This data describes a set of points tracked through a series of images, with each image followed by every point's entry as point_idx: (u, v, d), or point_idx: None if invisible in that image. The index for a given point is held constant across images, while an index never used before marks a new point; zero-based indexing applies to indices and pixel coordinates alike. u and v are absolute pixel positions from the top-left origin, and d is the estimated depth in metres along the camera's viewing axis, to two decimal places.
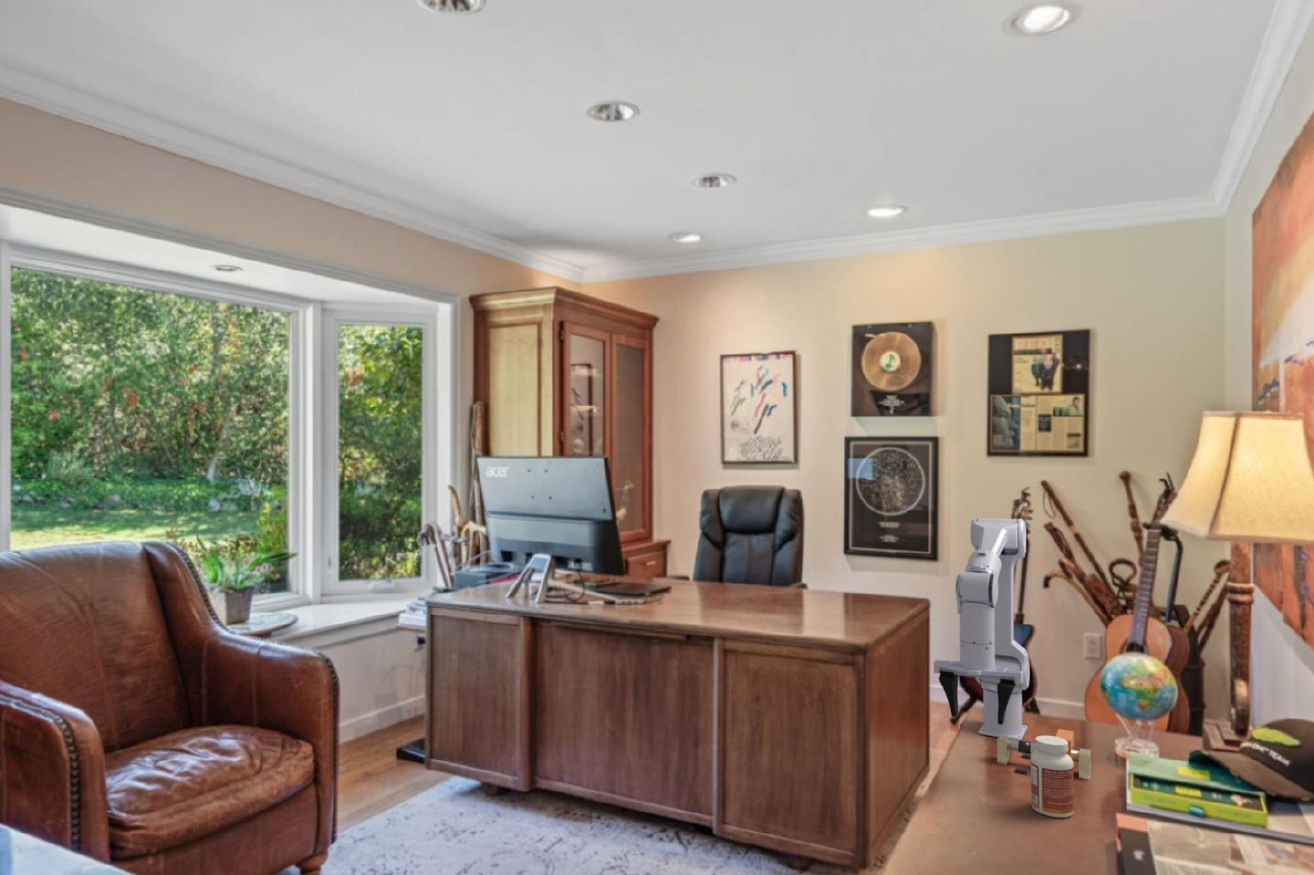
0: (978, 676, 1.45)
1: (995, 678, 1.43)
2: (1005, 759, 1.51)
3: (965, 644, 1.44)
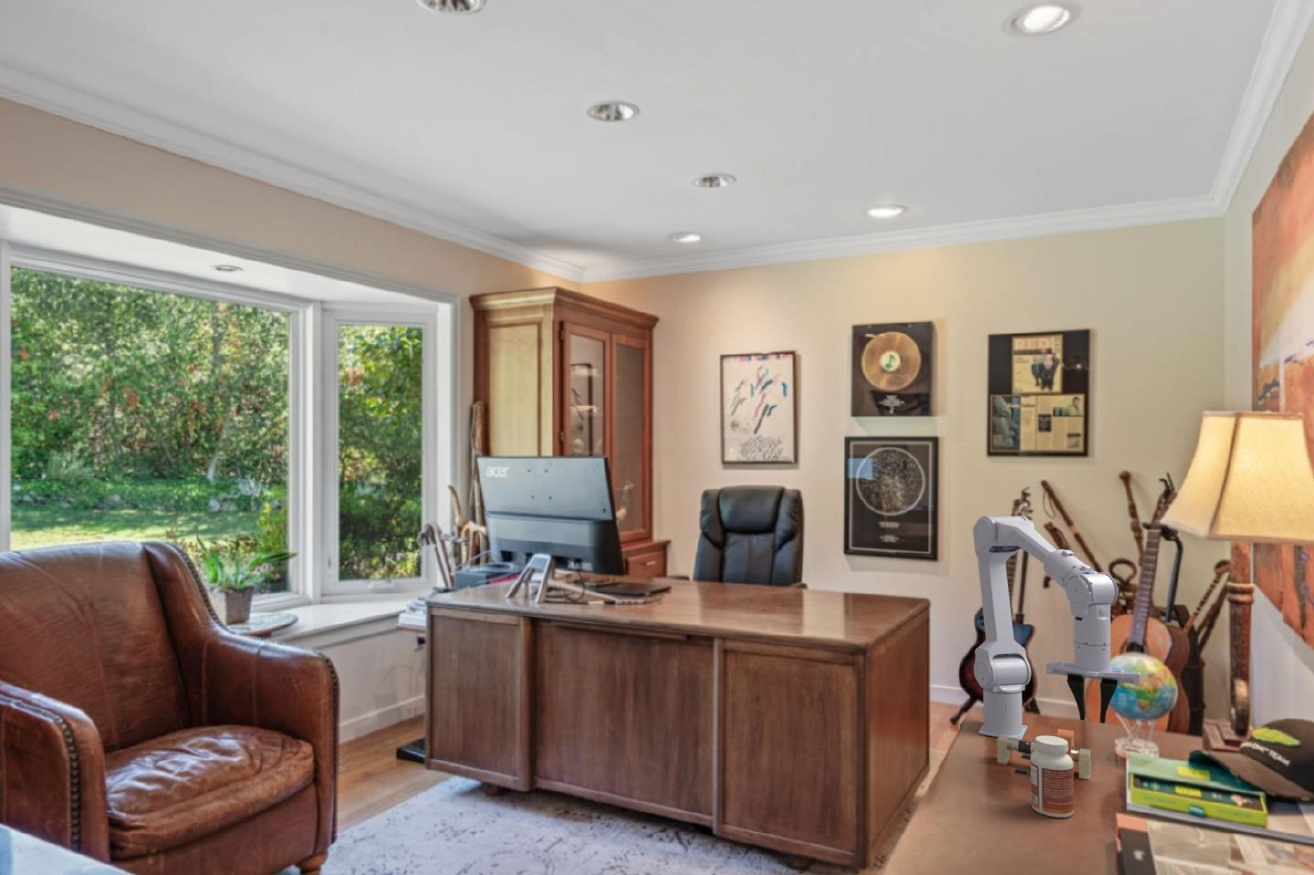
0: (1093, 677, 1.45)
1: (1112, 679, 1.43)
2: (1005, 759, 1.51)
3: (1081, 645, 1.44)
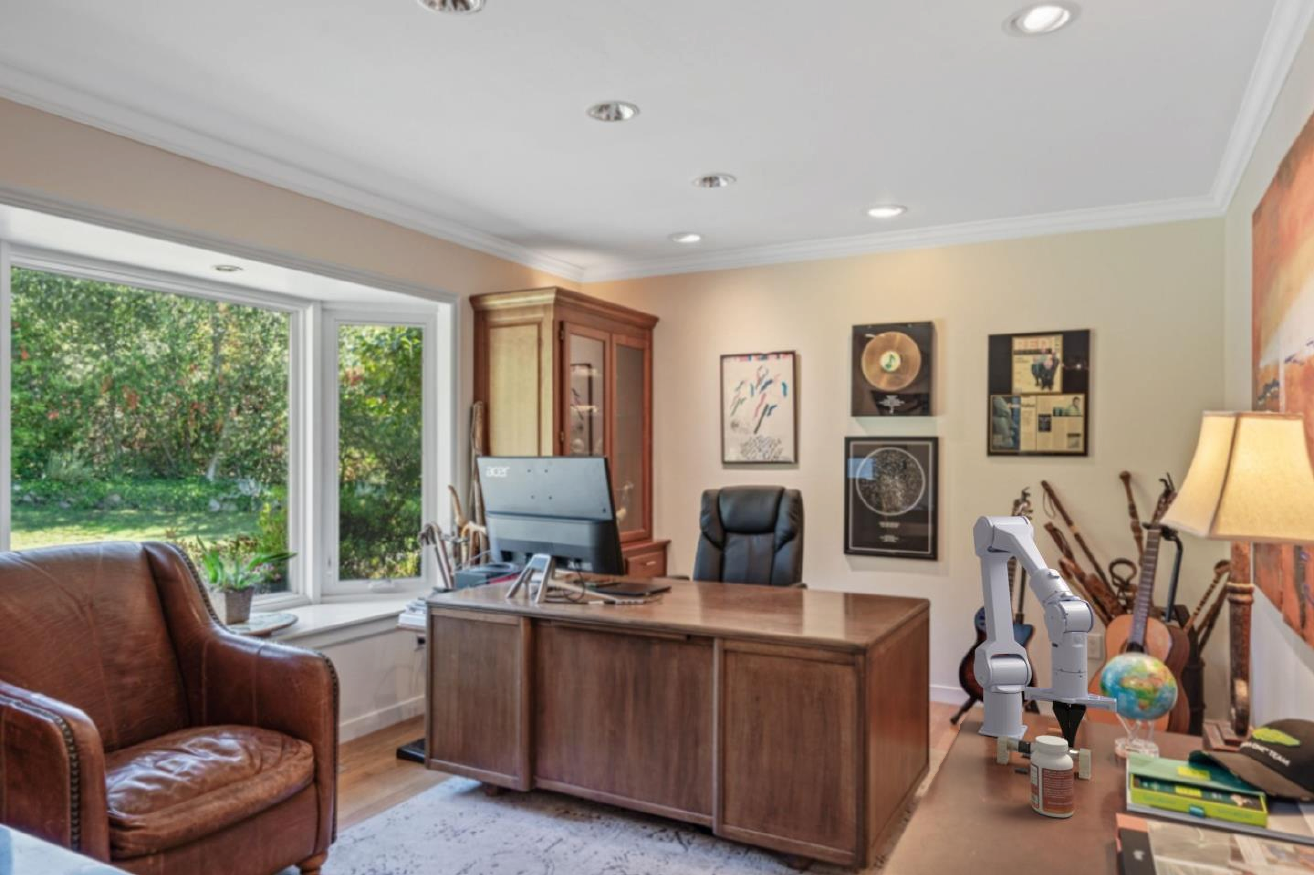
0: (1070, 703, 1.46)
1: (1088, 706, 1.45)
2: (1005, 759, 1.51)
3: (1058, 672, 1.46)
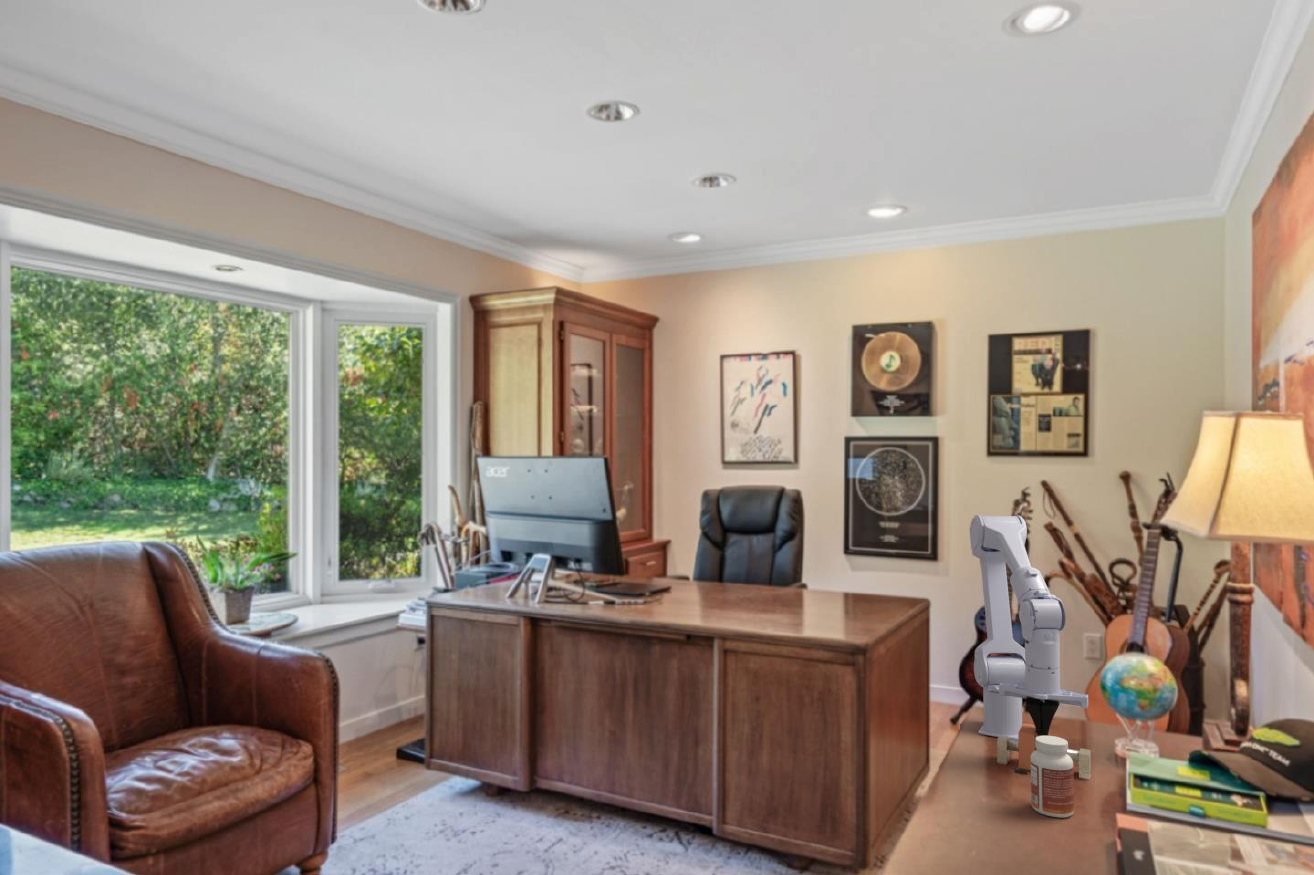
0: (1043, 699, 1.49)
1: (1061, 702, 1.47)
2: (1005, 759, 1.51)
3: (1031, 669, 1.48)
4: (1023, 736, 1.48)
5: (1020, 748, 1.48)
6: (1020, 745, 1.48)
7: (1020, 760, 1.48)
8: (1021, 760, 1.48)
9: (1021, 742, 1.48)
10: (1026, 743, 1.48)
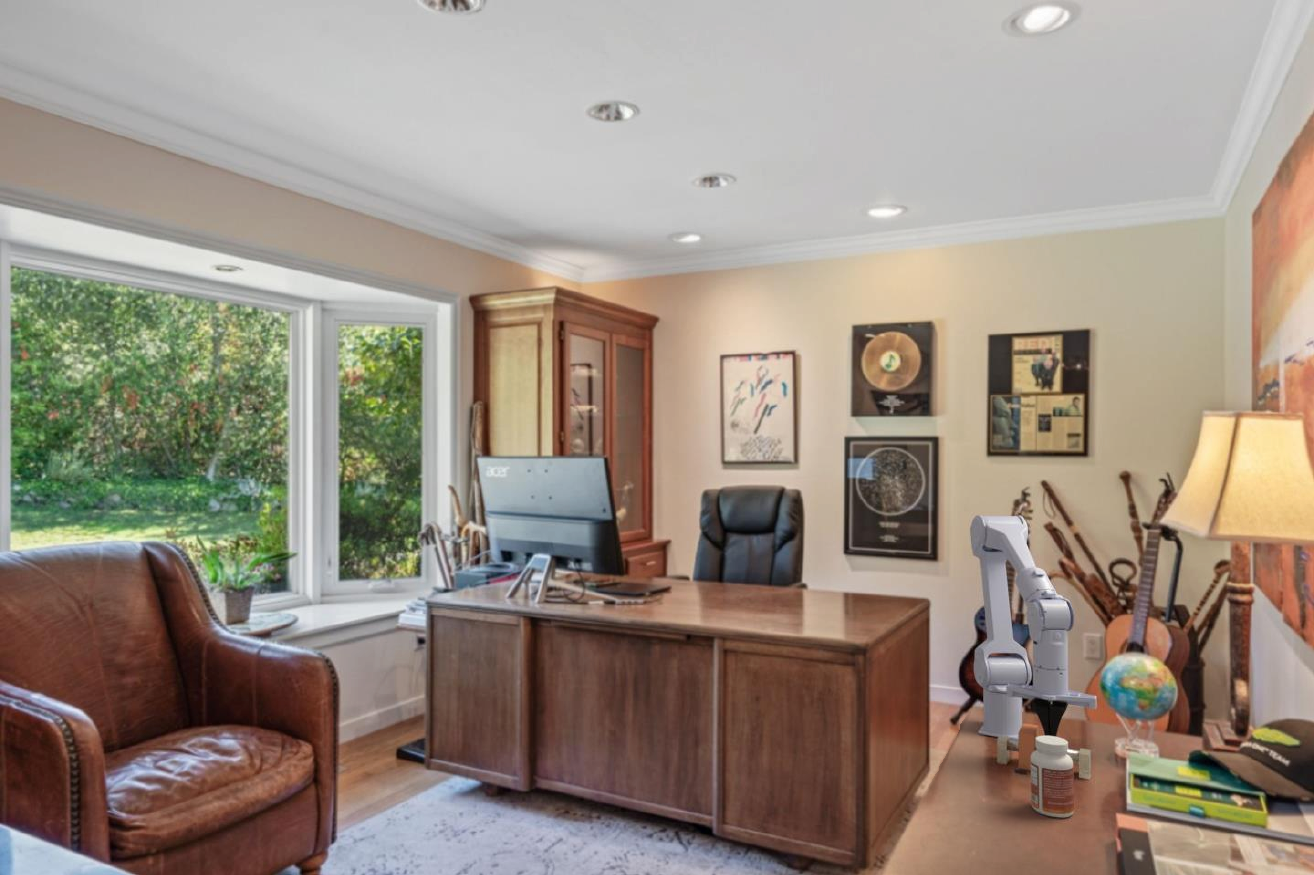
0: (1051, 700, 1.48)
1: (1069, 703, 1.47)
2: (1005, 759, 1.51)
3: (1039, 669, 1.47)
4: (1023, 736, 1.48)
5: (1020, 748, 1.48)
6: (1020, 745, 1.48)
7: (1020, 760, 1.48)
8: (1021, 760, 1.48)
9: (1021, 742, 1.48)
10: (1026, 743, 1.48)
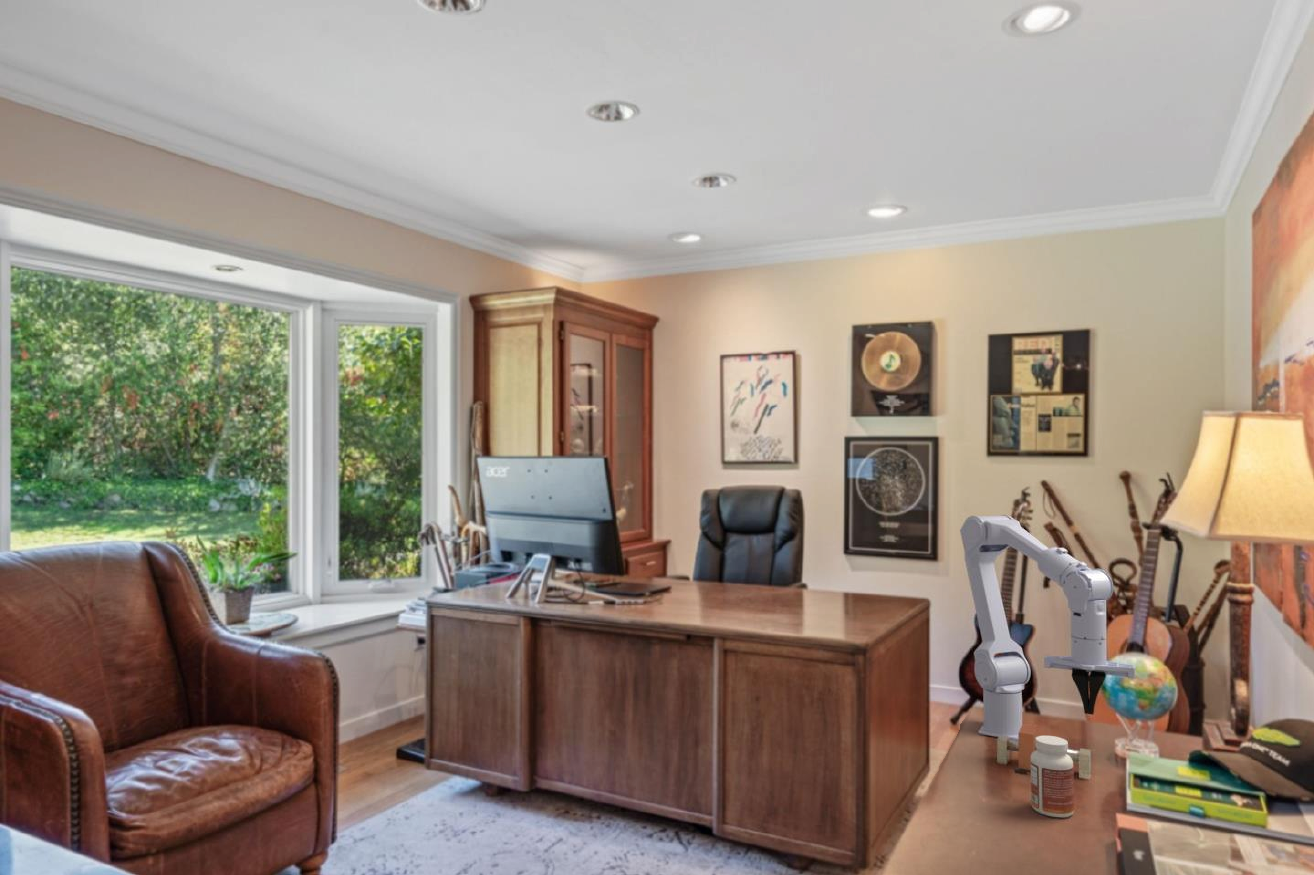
0: (1090, 670, 1.49)
1: (1107, 673, 1.48)
2: (1005, 759, 1.51)
3: (1078, 640, 1.48)
4: (1023, 736, 1.48)
5: (1020, 748, 1.48)
6: (1020, 745, 1.48)
7: (1020, 760, 1.48)
8: (1021, 760, 1.48)
9: (1021, 742, 1.48)
10: (1026, 743, 1.48)
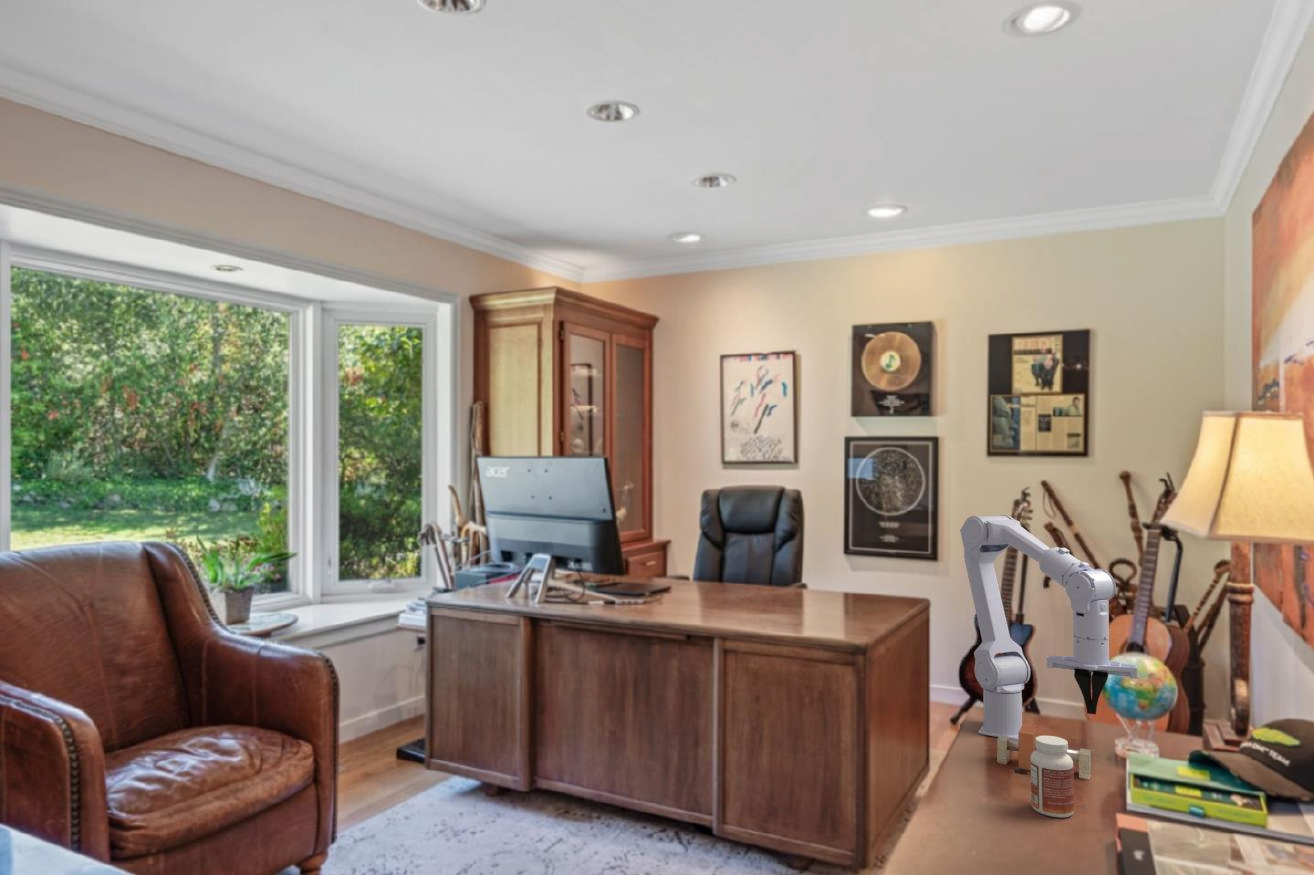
0: (1092, 670, 1.49)
1: (1110, 673, 1.48)
2: (1005, 759, 1.51)
3: (1080, 640, 1.48)
4: (1023, 736, 1.48)
5: (1020, 748, 1.48)
6: (1020, 745, 1.48)
7: (1020, 760, 1.48)
8: (1021, 760, 1.48)
9: (1021, 742, 1.48)
10: (1026, 743, 1.48)
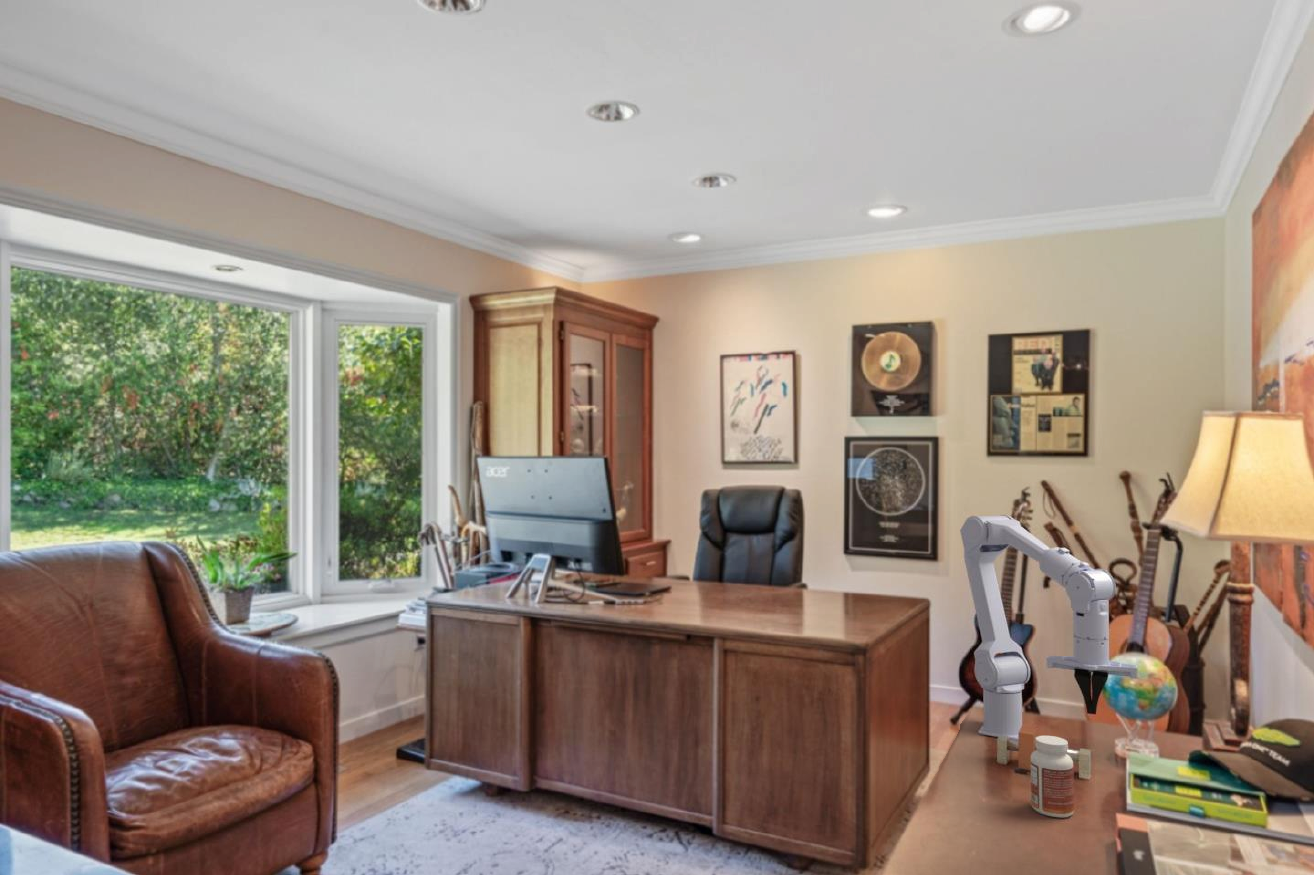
0: (1092, 670, 1.49)
1: (1110, 673, 1.48)
2: (1005, 759, 1.51)
3: (1080, 640, 1.48)
4: (1023, 736, 1.48)
5: (1020, 748, 1.48)
6: (1020, 745, 1.48)
7: (1020, 760, 1.48)
8: (1021, 760, 1.48)
9: (1021, 742, 1.48)
10: (1026, 743, 1.48)
